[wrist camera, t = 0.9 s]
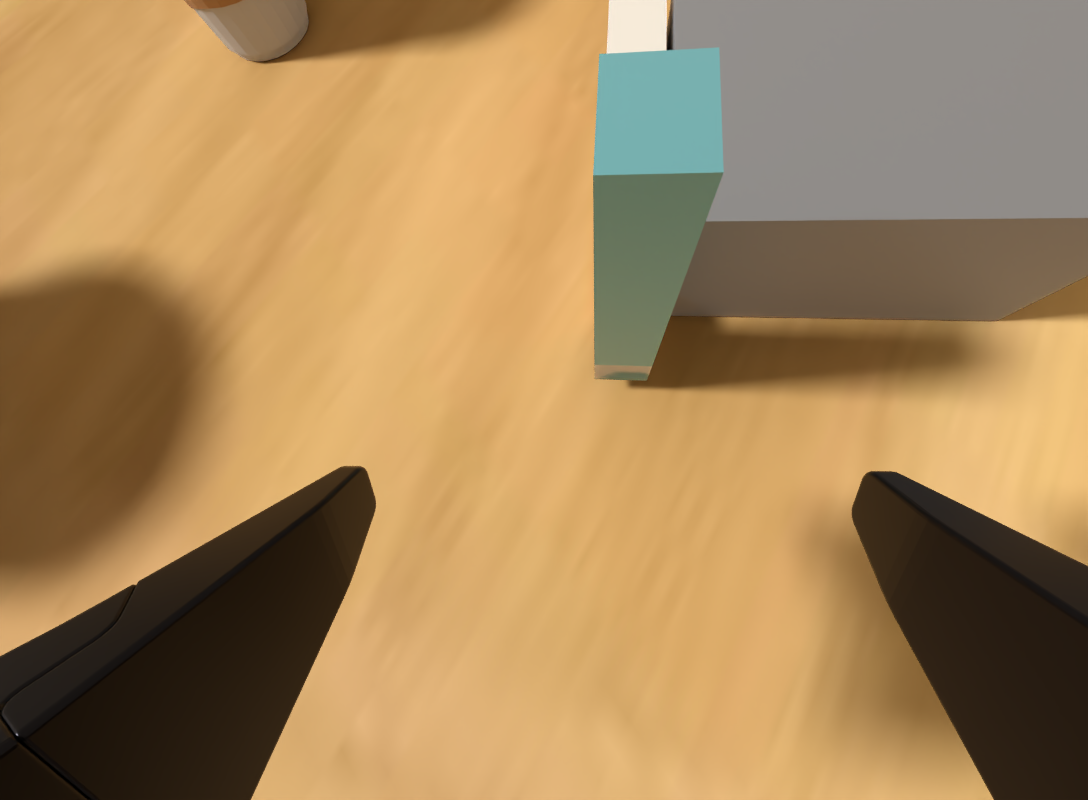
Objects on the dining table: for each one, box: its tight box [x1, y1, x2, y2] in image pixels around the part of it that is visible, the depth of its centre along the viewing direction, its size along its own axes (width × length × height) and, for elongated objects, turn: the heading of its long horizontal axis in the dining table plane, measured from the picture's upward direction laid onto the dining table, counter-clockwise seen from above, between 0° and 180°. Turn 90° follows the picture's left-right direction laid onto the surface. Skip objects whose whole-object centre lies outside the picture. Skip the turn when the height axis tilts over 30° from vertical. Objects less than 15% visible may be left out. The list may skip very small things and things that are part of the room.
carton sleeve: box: [666, 0, 1088, 321], centre depth 20 cm, size 16×12×8 cm
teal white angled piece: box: [593, 0, 724, 381], centre depth 16 cm, size 17×16×13 cm
